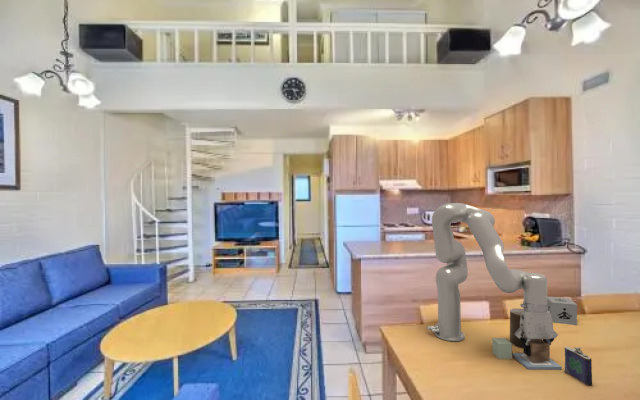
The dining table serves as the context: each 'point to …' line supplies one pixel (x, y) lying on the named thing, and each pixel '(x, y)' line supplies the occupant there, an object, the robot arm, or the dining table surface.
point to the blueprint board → (536, 363)
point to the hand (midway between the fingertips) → (536, 353)
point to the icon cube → (562, 310)
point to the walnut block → (539, 350)
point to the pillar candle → (515, 326)
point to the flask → (578, 365)
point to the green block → (502, 348)
